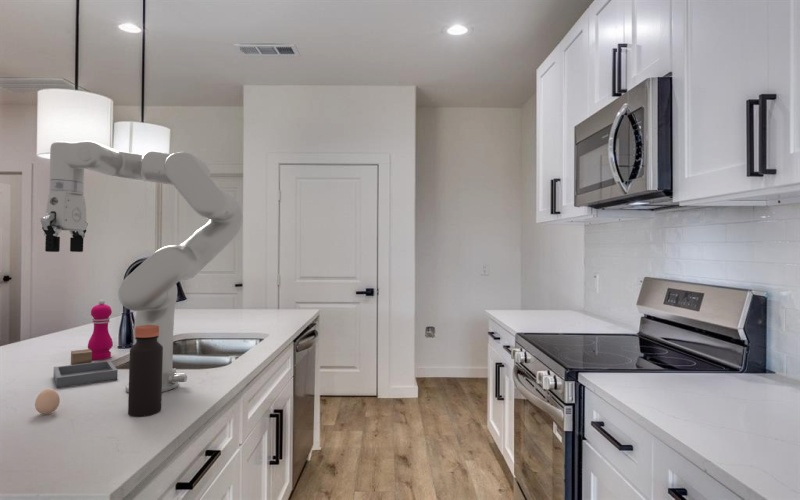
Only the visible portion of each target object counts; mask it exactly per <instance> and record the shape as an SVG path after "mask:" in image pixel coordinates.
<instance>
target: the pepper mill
mask: <svg viewBox="0 0 800 500" xmlns="http://www.w3.org/2000/svg"><path fill="white" fill-rule="evenodd" d="M105 303H106V301H105V300H104V299H100V300H98V304H96V305H94V306H93V307H92V308H91V310H90V315H91V317H93V318H92V324H93V331H92V335H91V336H90V338H89V340H88V342H87V349H90V350H91V351H92V361H99V360H106V359H107V360H108V359H110V358H111V357H112V351H110V350H111V349H112V348H113V344H114V342H113V339H112V337H111V334H110V332H109V323H110V322H111V321H110V316H111V315H112V313H113V312H112V311H113V310H112V308H111V306H109V305H108V304H105Z"/></svg>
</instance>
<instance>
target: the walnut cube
mask: <svg viewBox="0 0 800 500" xmlns="http://www.w3.org/2000/svg"><path fill="white" fill-rule="evenodd" d="M70 352H71V353H70V365H76V364H84V363H93V362H92V361H93V360H92V351H91V350H90V349H88V348H86V349H79V350H77V349H76V350H70Z"/></svg>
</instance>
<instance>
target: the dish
mask: <svg viewBox="0 0 800 500" xmlns="http://www.w3.org/2000/svg"><path fill="white" fill-rule="evenodd" d="M118 373H119V372H118V369H117V367H116V365H114V363H113V362H112V361H111V360H103V361H95V362H94V361H93V362H92V363H84V364H76V365H71V364H69V365H59V366H58V365H57V366H54V367H53V380H54V384H55V387H56V389H61V388H62V389H63V388H68V387H69V388H70V387H75V386H82V385H84V386H85V385H90V384H98V383H104V382H111V381H118Z"/></svg>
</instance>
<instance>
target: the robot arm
mask: <svg viewBox="0 0 800 500" xmlns="http://www.w3.org/2000/svg"><path fill="white" fill-rule="evenodd" d="M49 153H50V157H49V181H48V182H49V187H48V189H49V190H48V197H47V203H46V210H45V212H46V213H45V215H44V216H43V217H41V218H40V223H41V226H42V228H41V229H42V230H43V236H45V247H44V251H45V252H48V253H49V252H50V253H59V252H60V250H61V249H60V245H61V242H60V241H61V237H60V236H59V234H60V233H61V231H69V233H70V235H71V237H70V239H69V240H70V241H69V252H70V253H71V252H72V253H73V252H75V253H83V252H84V238H85V237H86V235H85V234H86V233H87V227H88V224H89V223H88V221H87V206H86V205H87V204H86V199H85V196H84V191H85V189H84V187H85V186H84V185H85V170H89V171H93V172H97V173H100V174H102V175H103V174H104V175H106V176H112V177H119V178H123V179H124V178H125V179H129V180H139V181H144V182H151V183H156V184H162V185H169V186H174V188H175V189H176V190H177V192H178V193H179V194H180V195H181V197H183V199H184V200H185V201H186V203H187V204H188V205H189V206H190V207H191V209H192V210H193V211H194V212H195V213H196V214H197V215H199V216H201V217H202V218H205V219H207V220H208V221H207V222H206V223H205V224H204V225H202V226H201V227H199V228H198V229H196V231H194V232H193V233H192V235H190V236H189V237H187V239H186V240H185V241H183V242H182V243H180V244H177V245H176V244H172V245H170V244H169V245H165V246H163V247H161V248H159V249H157V250H156V251H154V252H153V253H152V254H151V255H149V256H148V257H147V258H146V259H145V260H144V261H143V262H142V263H140V264H139V265H138V266H136V268H134V270H133V271H132V272H130V273H129V274H128V275H127V276H126V277H125V278H124V279H123V281H122V282H121V283H120V285H119V288H118V290H117V294H118V295H117V296H118V301H119V302H120V304H121V305H122V306H123V307H124V308H126V309H127V310H130V311H134V312H136V313H135V318H134V324H133V325H134V328H133V345H134V344H135V343H136V339H135V327H137V326H142V325H158V326H159V335H158V336H159V337H158V338H157V342H159V343H160V344H161V345H162V346H163V364H162V393H163V392H167V391H171V390H173V389H176V388H177V387H178V385H179V383H186V382H187V379H188V376H187V374H186V373H178V372H177V368H175V367H174V368H173V363H174V362H173V360H174V359H173V358H174V357H173V356H174V355H173V354H174V330H175V329H174V325H175V322H174V321H175V313H176V312H175V310H176V305H177V301H178V300H177V299H178V286H177V284H178V283H179V282H183V281H186V280H190V279H193V278H195V277H196V276H197V275H198V274H199V273H200V272H201V271H202V270H203V269H204V268H205V267H206V266H208V265H209V263H211V262H212V260H214V259H215V258H216V257H217V256H218V255H219V253H221V252H222V251H224V249H225V248H226V247H228V245H230V244H231V243H232V242H233V240H234V239H235V238H236V236H237V235H238V234H239V232H240V230H241V228H242V224H243V211H242V207H241V205H240V202H239V201H238V199H237V198H236V197H235V196H234V195H233V194H231V193H230V192H228V191H226V190H223V189H221V188H219V187H218V186H217V184H215V182H214V181H213V180H212V178H210V177H211V169H210V167H209V165H207V162H205V161H203V160H202V159H201V158H199V157H197V156H195V155H193V154H192V153H190V152H186V151H177V152H174V153H167V152H161V151H157V150H148V151H146V152H145V153H134V152H127V151H123V150H116V149H115V148H113V147H112V148H111V147H109V146H107V145H104V144H102V143H98V142H96V141H92V140H84V141H83V140H82V141H77V142H76V141H75V142H69V141H54V142H52V144H51V145H50V151H49ZM125 391H126V392H127V393H129V383H127V384H126V385H125Z"/></svg>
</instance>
